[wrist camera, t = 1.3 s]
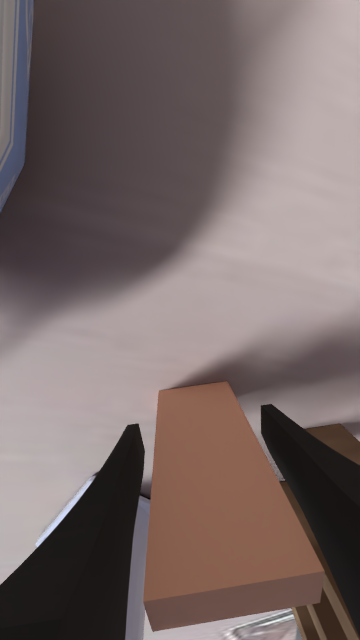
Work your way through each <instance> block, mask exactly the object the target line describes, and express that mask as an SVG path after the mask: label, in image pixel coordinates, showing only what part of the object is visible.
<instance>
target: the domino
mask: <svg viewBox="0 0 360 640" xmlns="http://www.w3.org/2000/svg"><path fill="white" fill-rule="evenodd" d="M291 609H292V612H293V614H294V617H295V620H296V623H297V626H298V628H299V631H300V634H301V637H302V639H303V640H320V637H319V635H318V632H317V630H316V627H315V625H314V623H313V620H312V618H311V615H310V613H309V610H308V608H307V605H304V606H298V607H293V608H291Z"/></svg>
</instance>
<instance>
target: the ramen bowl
mask: <svg viewBox="0 0 360 640" xmlns="http://www.w3.org/2000/svg"><path fill="white" fill-rule="evenodd" d="M33 12H34V0H0V213H1V210H2V208H3V206H4V204H5V202H6V200H7V198H8V196H9V194H10V192H11V190H12V188H13V186H14V184H15V182H16V180H17V178H18V176H19V174H20V172H21V170H22V168H23V166H24V164H25V147H26V130H27V113H28V97H29V80H30V63H31V46H32V29H33Z"/></svg>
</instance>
